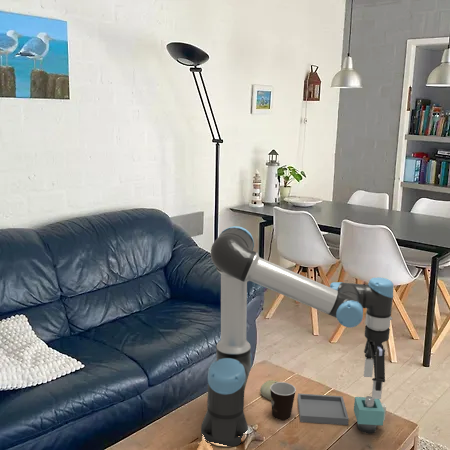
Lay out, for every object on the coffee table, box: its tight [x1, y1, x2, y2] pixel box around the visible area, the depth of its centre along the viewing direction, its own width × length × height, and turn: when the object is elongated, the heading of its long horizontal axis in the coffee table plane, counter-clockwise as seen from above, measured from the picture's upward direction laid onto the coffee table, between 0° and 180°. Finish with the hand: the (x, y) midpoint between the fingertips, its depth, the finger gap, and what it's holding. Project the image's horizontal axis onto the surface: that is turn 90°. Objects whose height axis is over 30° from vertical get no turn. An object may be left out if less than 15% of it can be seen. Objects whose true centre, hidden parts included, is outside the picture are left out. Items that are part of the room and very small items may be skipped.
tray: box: [297, 393, 350, 426], centre depth 185 cm, size 16×14×2 cm
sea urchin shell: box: [259, 380, 279, 401], centre depth 194 cm, size 9×8×8 cm
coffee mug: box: [270, 381, 297, 421], centre depth 183 cm, size 12×9×10 cm
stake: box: [357, 395, 378, 435], centre depth 175 cm, size 6×6×11 cm
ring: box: [353, 396, 387, 426], centre depth 175 cm, size 9×8×5 cm
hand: (371, 387), depth 173 cm, fingers open, 13 cm apart
